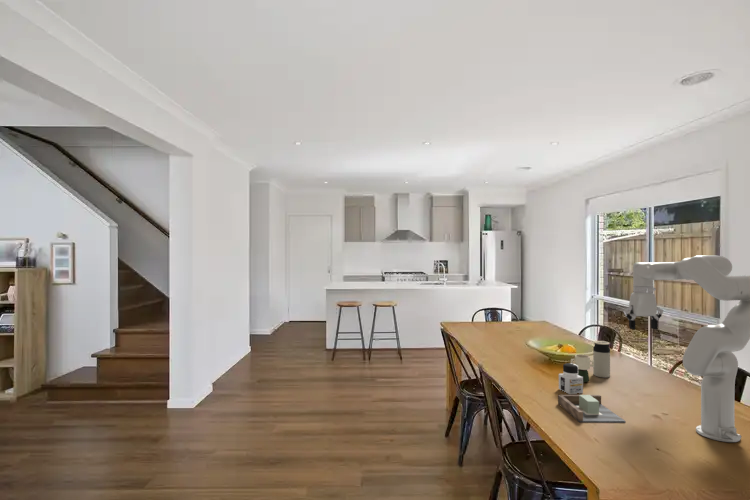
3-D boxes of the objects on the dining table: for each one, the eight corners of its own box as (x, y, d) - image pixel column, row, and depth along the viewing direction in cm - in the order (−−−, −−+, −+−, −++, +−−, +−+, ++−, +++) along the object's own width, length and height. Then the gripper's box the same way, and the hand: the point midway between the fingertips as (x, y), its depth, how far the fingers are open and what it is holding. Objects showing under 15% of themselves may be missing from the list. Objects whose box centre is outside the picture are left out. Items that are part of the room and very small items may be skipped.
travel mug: (613, 377, 225) (613, 343, 225) (597, 377, 226) (597, 343, 226) (605, 373, 233) (605, 340, 233) (590, 373, 234) (590, 340, 234)
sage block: (589, 406, 182) (589, 394, 182) (599, 413, 174) (599, 401, 174) (579, 406, 182) (579, 394, 182) (587, 413, 174) (587, 401, 174)
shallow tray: (625, 422, 167) (625, 412, 167) (579, 422, 167) (579, 412, 167) (599, 404, 187) (599, 395, 187) (558, 403, 187) (558, 394, 187)
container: (569, 394, 199) (569, 366, 199) (558, 389, 207) (558, 362, 207) (583, 393, 201) (583, 365, 201) (571, 388, 209) (571, 361, 209)
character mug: (592, 380, 222) (592, 355, 222) (595, 384, 215) (595, 358, 215) (569, 378, 225) (569, 353, 225) (571, 382, 218) (571, 356, 218)
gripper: (656, 289, 192) (656, 327, 192) (618, 289, 192) (618, 327, 192) (668, 291, 185) (668, 330, 185) (629, 291, 185) (629, 330, 185)
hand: (643, 328), depth 188 cm, fingers open, 9 cm apart
